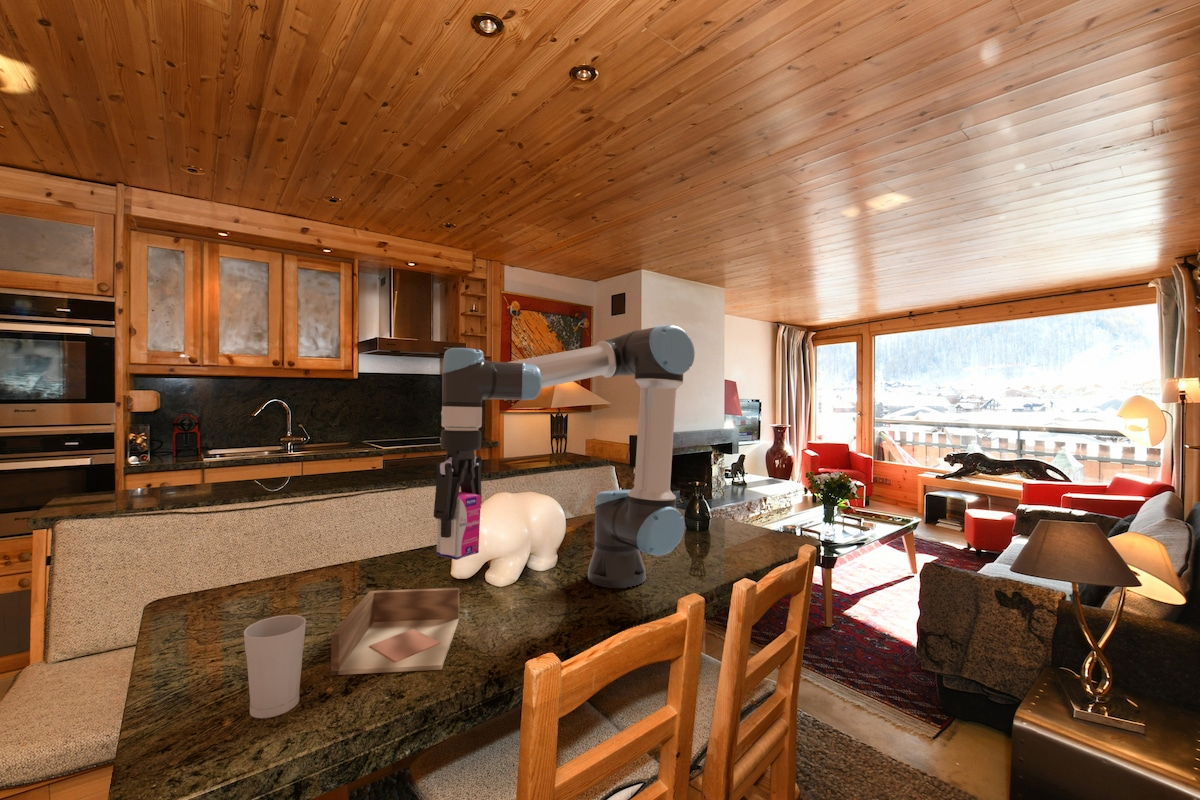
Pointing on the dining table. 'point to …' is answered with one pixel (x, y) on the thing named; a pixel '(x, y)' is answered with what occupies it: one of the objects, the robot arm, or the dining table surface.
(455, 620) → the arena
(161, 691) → the dining table surface
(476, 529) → the supplement box
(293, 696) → the cup
